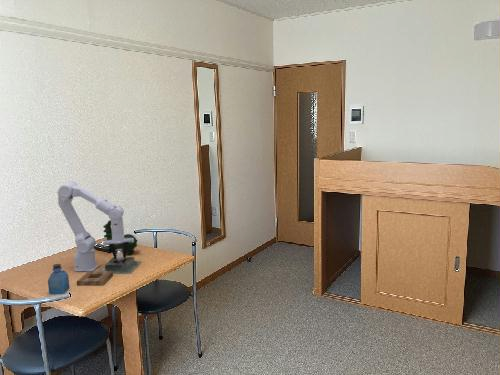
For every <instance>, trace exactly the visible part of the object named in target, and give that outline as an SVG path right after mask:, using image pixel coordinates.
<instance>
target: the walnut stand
mask: <svg viewBox="0 0 500 375" xmlns="http://www.w3.org/2000/svg"><path fill="white" fill-rule="evenodd" d="M113 276H114V274H113V271H101V270H99V271H98V270H97V271H95V270H94V271H86V273H85V274H83V275H82V276H81V277H80V278H79V279H77V280H76V285H77V286H105V284H107V282H108V281H109V280H110V279H111V278H112V277H113ZM91 278H92V279H91Z"/></svg>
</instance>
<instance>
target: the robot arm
mask: <svg viewBox="0 0 500 375" xmlns="http://www.w3.org/2000/svg"><path fill="white" fill-rule="evenodd" d="M57 195H58V196H57V197H58V199H57V201H58V203H57V204H58V206H59V208H60V211H62V214H63V216H64V217H65V220H66V222H67V223H68V225H69V227H70V228H71V231H72V232H73V235H74V238H75V239H74V242H75V246H76V250H77V251H75V253H74V254H73V262H74V270H73V271H74V272H88V271H95V270H96V269H97V268H98V267H99V266H100V264H97V263H96V261H97V260H96V250H95V246H96V243H97V241H96V238H94V236H92V234H91V233H90V232H88V231H87V230H86V228H85V227H84V225H83V223H82V221H81V219H80V216H78V214H77V212H76V210H75V208H74V206H73V204H72V201H73V199H74V198H77V197H80V198H82V199H84V200H86V201H88V202H89V203H92V204H93V205H95V208H96V210H98V211H100V212H102V213H104V215H107V216H108V218H109V219H110V220H111V230H112V240H107V239H106V240H107V241H106V240H103V241H102V246H103V247H106V246H108V247H109V248H110V249H111V250H110V251H111V252H112V255H113V257H114V259H116V256H115V248H114V244H121V243H123V248H124V258H125V257H127V248H128V245H129V242H132V243H133V242H134V238H124V235H125V232H124V230H125V229H124V220H123V219H124V218H123V215H125V214H124V213H125V212H124V209H123V207H122V206H118V205H117V204H115V203H114V204H113V203H112V202H110V201H109V199H107V198H99V197H97V196H95V195H94V193H91V192H90V191H89V190H87V189H85V187H83V186H82V185H81V184H78V183H77V182H74V181H70V182H68V183H65V184H62V185H60V186H59V188H58V190H57Z"/></svg>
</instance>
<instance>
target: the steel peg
mask: <svg viewBox="0 0 500 375" xmlns="http://www.w3.org/2000/svg"><path fill="white" fill-rule="evenodd" d="M115 256H116V263H124V250H123V249H117V250H115Z"/></svg>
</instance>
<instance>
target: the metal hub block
mask: <svg viewBox="0 0 500 375" xmlns="http://www.w3.org/2000/svg"><path fill="white" fill-rule="evenodd" d="M141 263H142V261H141V260H135V256H125V258H124V263H116V259H114V256H113V257H112V258H111V259H109V261H108V262H106V263H105V264H104V267H103V268H102V269H101V270H100V271H113V275H116V274H117V275H130V274H132V273H133V272H134V271H135V270H136V268H138V266H140V264H141Z"/></svg>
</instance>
